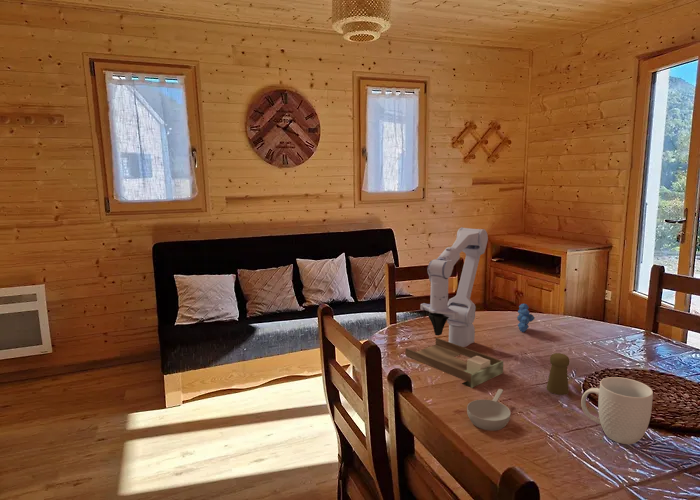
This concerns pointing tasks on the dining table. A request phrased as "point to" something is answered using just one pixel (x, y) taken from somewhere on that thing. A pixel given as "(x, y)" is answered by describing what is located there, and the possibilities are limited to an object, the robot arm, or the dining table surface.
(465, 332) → the robot arm
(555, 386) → the cork
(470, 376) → the olive long flat tray
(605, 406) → the mug
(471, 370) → the cream block
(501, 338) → the dining table surface
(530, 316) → the grapes
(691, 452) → the dining table surface
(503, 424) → the saucepan
